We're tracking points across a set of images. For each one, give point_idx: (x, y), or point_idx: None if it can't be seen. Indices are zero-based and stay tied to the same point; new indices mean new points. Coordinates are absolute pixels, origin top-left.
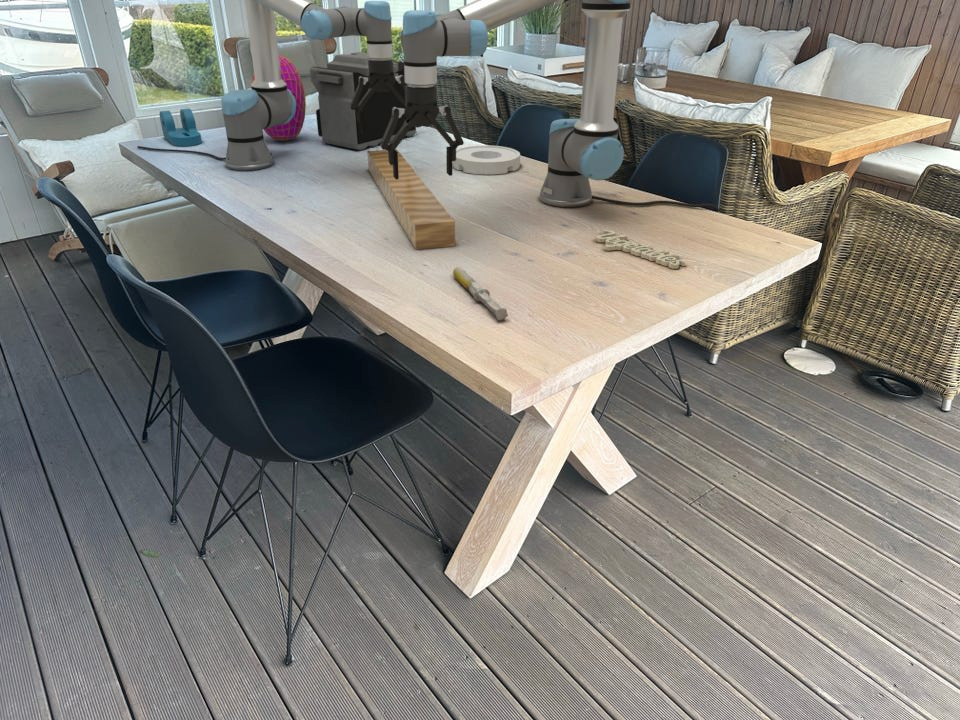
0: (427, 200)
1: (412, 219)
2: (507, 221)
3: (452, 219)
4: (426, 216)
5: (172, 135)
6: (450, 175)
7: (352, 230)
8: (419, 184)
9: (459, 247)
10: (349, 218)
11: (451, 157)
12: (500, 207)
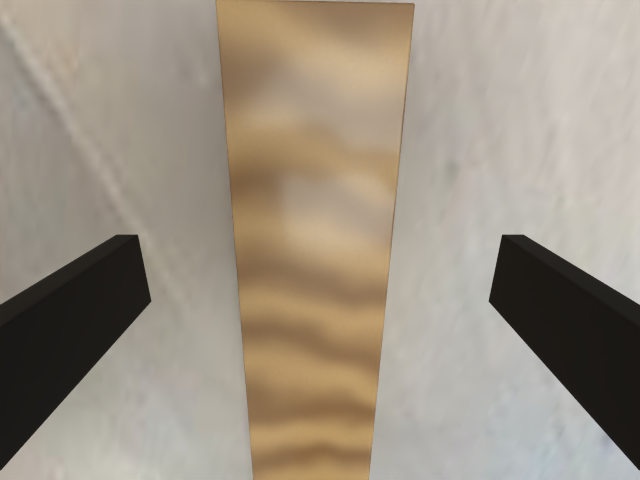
0: (279, 309)
1: (402, 89)
2: (23, 224)
3: (222, 31)
4: (331, 113)
5: None
6: (129, 236)
7: None
8: (270, 464)
9: None
10: (493, 363)
11: (16, 300)
12: None
